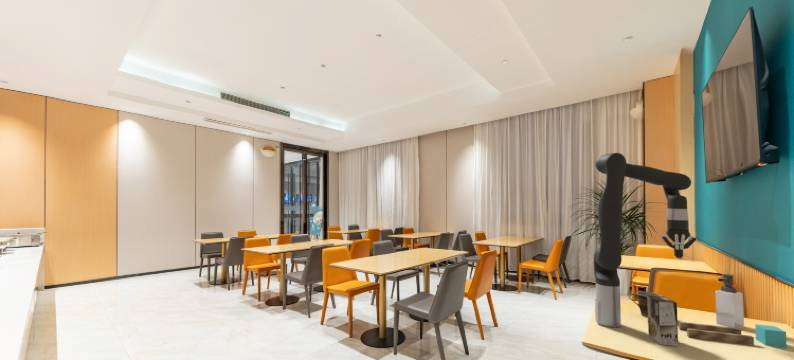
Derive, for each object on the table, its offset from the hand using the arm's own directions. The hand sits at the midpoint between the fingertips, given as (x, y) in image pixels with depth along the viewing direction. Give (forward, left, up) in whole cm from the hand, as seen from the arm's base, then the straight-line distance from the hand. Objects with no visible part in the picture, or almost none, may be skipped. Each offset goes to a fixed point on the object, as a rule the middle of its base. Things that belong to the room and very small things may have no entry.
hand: (678, 257), depth 155 cm
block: (+24, -12, -29) cm, 40 cm away
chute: (+7, -12, -29) cm, 32 cm away
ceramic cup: (-11, +8, -29) cm, 32 cm away
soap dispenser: (+19, +6, -29) cm, 35 cm away
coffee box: (-14, -25, -29) cm, 41 cm away
